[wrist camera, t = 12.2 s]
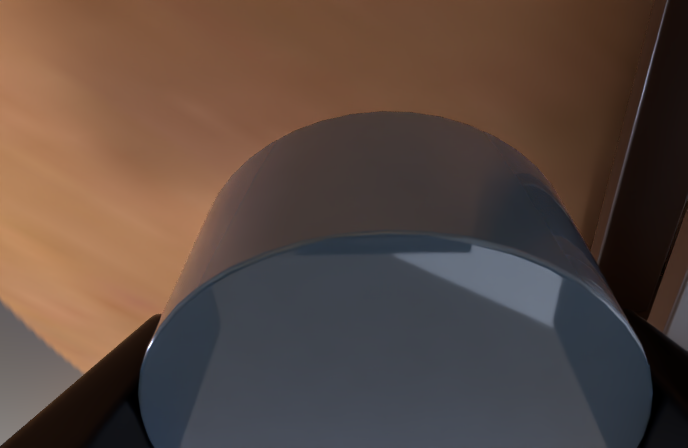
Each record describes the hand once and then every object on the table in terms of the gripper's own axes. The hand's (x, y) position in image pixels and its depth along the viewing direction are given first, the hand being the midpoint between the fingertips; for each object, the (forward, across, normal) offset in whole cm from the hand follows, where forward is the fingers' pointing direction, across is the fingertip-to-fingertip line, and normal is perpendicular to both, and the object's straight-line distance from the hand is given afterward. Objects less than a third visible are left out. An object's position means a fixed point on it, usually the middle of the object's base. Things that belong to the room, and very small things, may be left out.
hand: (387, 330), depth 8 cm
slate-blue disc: (+1, 0, 0) cm, 1 cm away
